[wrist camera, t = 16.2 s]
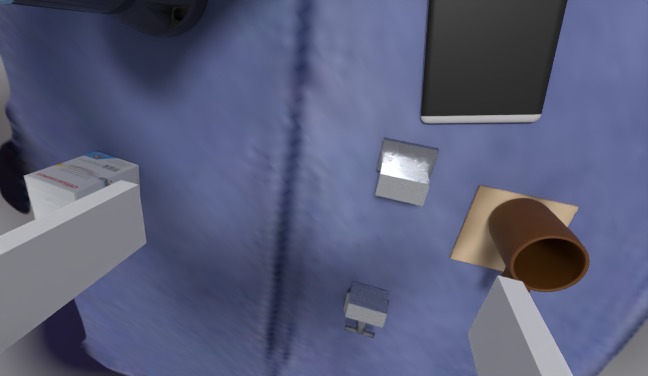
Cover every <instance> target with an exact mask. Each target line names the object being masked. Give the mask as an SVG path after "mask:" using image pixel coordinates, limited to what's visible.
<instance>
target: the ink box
mask: <svg viewBox="0 0 648 376" xmlns="http://www.w3.org/2000/svg"><path fill="white" fill-rule="evenodd" d="M24 179H25V182H26V186H27V190H28V194H29V198H30V202H31V206H32V210H33V214H34V218H35V220H36V219H38V218H40V217H42V216H44V215H46V214H49V213H51V212H53V211H55V210H57V209H59V208H62V207H64V206H66V205H68V204H70V203H72V202H75V201H77V200H79V199H81V198H83V197H85V196H88V195H90V194H92V193H94V192H96V191H98V190H101V189H103V188H105V187H107V186H109V185H111V184H114V183H116V182H118V181H120V180H123V181H127V182H131V183H135V184H138V185H139V192H140V179H139V165H137V164H134V163H131V162H128V161H125V160H122V159H119V158H116V157H113V156H110V155H107V154H103V153H101V152H98V151H95V152H92V153H89V154H86V155H83V156H80V157H78V158H75V159H72V160H69V161H66V162H63V163H60V164H57V165H54V166H51V167H48V168H45V169H43V170H40V171H37V172H34V173H31V174H28V175H25V176H24Z"/></svg>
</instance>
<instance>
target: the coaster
mask: <svg viewBox="0 0 648 376" xmlns="http://www.w3.org/2000/svg"><path fill="white" fill-rule="evenodd" d="M517 198H529V199H534V200H536V201H539V202H541V203H543V204H544V205H545V206H547V207H548V208H549V209H550V210H551V211H552V212H553V213H554V214H555V215H556V216H557V217H558V218H559V219H560V220H561V221H562V222H563V223H564V224H565V225H566V226H567V227H568V225H569V223H570V222H571V220H572V218H573V216H574V215H575V213H576V211H577V210H578V208H579V207H578V206H574V205H570V204H565V203H560V202H556V201H551V200H546V199H542V198H537V197H532V196H528V195H523V194H519V193H514V192H509V191H505V190H500V189H495V188H491V187H486V186H481V185H479V187H478V189H477V191H476V194H475V196H474V199H473V201H472V204H471V206H470V208H469V211H468V213H467V216H466V218H465V221H464V223H463V225H462V228H461V230H460V233H459V235H458V238H457V240H456V243H455V245H454V247H453V250H452V252H451V255H450V258H451V259H455V260H459V261H463V262H467V263H471V264H475V265H479V266H483V267H487V268H491V269H495V270H499V271H504V269H505V267H506V266H505V264H504V262H503V260H502V258H501V256H500V254H499V252H498V250H497V248H496V245H495V243H494V241H493V239H492V237H491V235H490V232H489V227H488V223H489V218H490V216H491V214H492V213H493V211H494V210H495V209H496V208H497V207H498V206H500V205H501V204H503V203H504V202H507V201H509V200H512V199H517Z"/></svg>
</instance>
